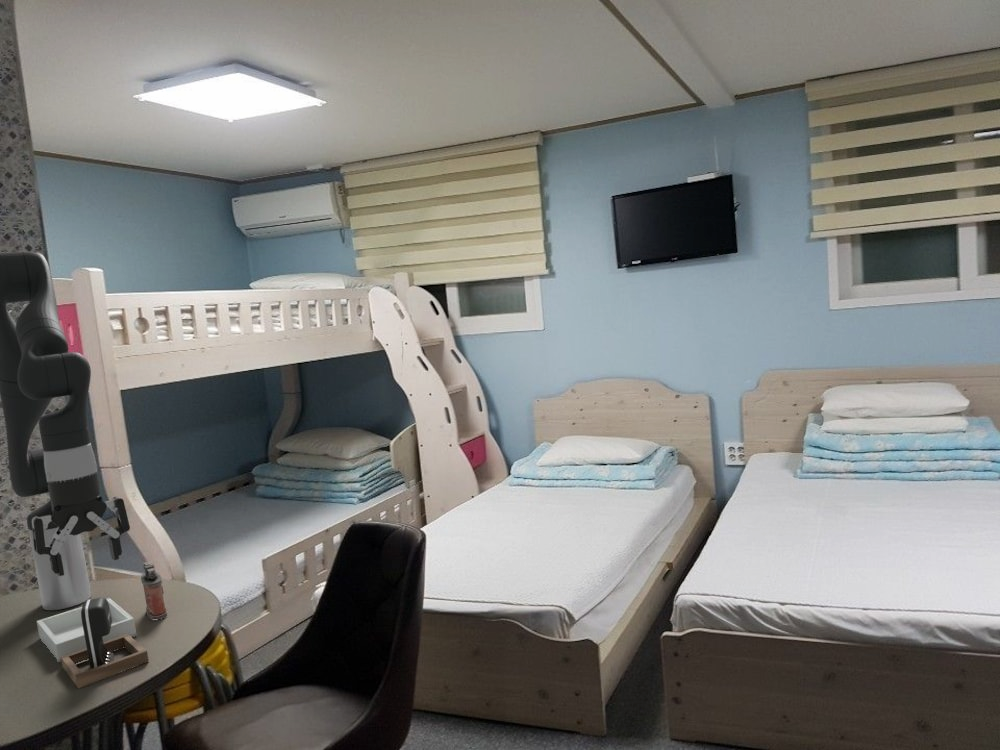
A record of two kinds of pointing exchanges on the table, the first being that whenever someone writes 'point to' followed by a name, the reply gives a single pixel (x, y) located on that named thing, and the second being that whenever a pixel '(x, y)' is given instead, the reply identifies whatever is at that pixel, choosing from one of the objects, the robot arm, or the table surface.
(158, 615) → the lighter
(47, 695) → the table surface
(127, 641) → the brown flat square frame
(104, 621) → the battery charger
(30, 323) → the robot arm
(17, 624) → the table surface
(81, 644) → the bin
